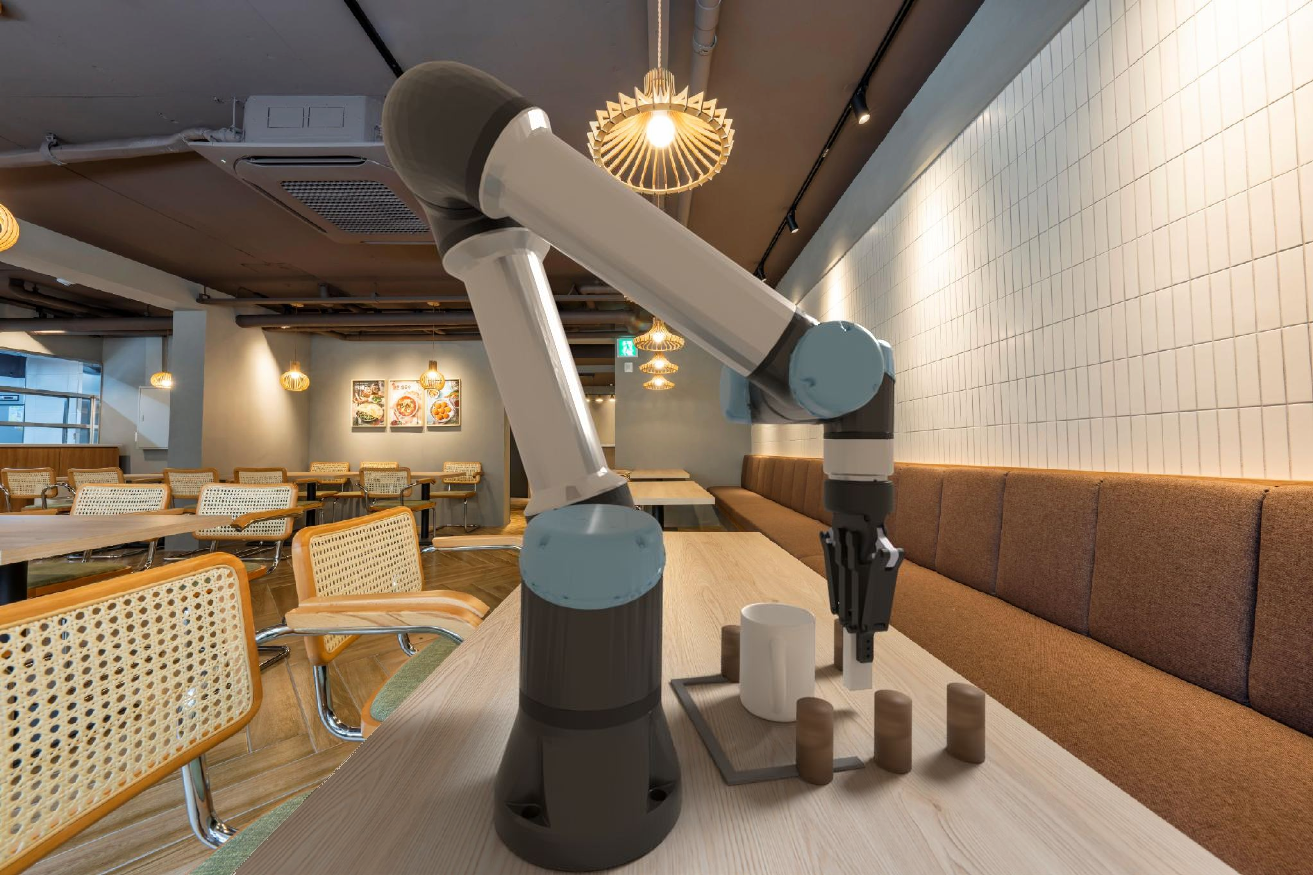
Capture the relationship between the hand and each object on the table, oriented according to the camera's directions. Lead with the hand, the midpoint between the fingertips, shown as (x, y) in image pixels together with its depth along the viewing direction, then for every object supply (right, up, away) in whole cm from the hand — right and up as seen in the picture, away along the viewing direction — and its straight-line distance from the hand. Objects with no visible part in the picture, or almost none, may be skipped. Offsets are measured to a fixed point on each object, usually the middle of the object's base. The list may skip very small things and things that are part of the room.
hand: (857, 686), depth 59 cm
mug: (-10, -2, -2) cm, 10 cm away
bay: (-12, -2, -3) cm, 12 cm away
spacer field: (-3, -2, -1) cm, 4 cm away
